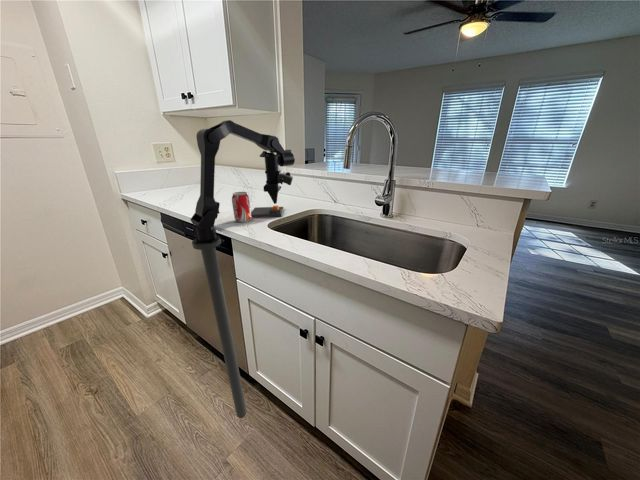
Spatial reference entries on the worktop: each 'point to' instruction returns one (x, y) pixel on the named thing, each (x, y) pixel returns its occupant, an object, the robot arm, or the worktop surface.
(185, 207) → the worktop surface
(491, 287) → the worktop surface
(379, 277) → the worktop surface
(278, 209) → the tare button
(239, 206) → the soda can
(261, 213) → the scale
